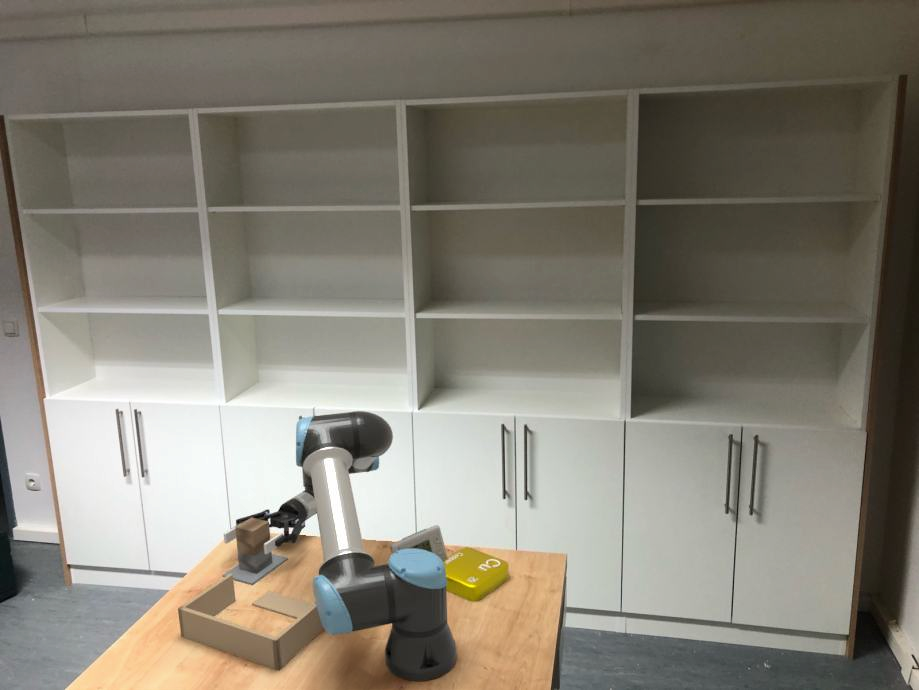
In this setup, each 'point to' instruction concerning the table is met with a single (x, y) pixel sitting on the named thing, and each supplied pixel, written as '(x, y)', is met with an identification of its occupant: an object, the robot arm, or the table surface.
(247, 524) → the reflective metal box
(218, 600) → the cardboard walls
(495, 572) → the element tile
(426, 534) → the digital clock
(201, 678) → the table surface
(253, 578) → the mat
